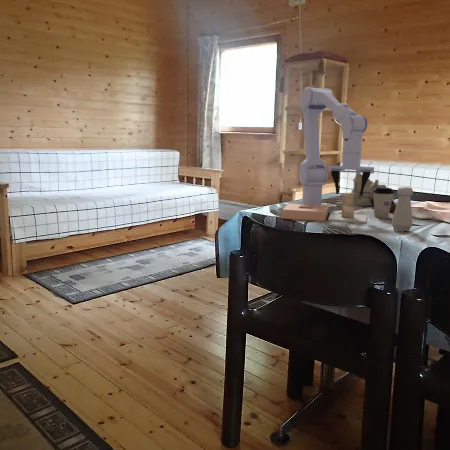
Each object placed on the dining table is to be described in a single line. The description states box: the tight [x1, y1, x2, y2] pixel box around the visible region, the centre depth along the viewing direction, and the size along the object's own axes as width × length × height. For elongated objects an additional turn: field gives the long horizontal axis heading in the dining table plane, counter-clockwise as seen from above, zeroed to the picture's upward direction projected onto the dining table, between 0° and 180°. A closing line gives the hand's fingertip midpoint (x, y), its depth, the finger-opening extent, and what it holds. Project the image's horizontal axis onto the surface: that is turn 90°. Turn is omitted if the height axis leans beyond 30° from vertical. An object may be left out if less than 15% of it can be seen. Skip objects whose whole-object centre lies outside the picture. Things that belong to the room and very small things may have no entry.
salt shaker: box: [391, 186, 414, 232], centre depth 137 cm, size 6×6×13 cm
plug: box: [341, 192, 356, 218], centre depth 154 cm, size 4×4×8 cm
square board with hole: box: [281, 203, 329, 222], centre depth 159 cm, size 14×14×3 cm
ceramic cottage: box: [350, 170, 387, 207], centre depth 190 cm, size 16×16×15 cm
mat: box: [327, 212, 367, 224], centre depth 155 cm, size 12×12×1 cm
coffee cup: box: [373, 187, 395, 219], centre depth 159 cm, size 7×7×10 cm
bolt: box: [370, 196, 397, 213], centre depth 175 cm, size 6×5×15 cm
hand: (349, 194), depth 154 cm, fingers open, 7 cm apart
